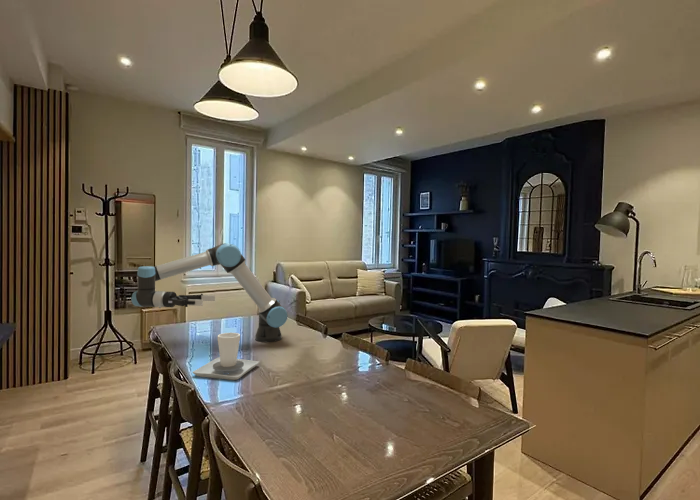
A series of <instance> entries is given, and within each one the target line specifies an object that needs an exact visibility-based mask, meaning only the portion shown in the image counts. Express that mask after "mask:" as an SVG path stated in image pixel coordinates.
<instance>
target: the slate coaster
mask: <svg viewBox="0 0 700 500" xmlns="http://www.w3.org/2000/svg"><path fill="white" fill-rule="evenodd" d="M243 366H244V363H243V362H242V361H238V360H237V361H236V365H234V366H230V367H224V366H221V362H217V363H215V364H213V369H214V370H218V371H232V370H237V369H240V368H242V367H243Z"/></svg>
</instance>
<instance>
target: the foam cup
mask: <svg viewBox="0 0 700 500" xmlns="http://www.w3.org/2000/svg"><path fill="white" fill-rule="evenodd" d="M240 341H241V334H240V333H239V332H222V333H219V334H218V335H217V343H218V352H219V357H220V362H221V366H224V367H230V366H234V365H236V361H237V359H238V356H239V355H238V353H239V349H240V348H239V347H240Z"/></svg>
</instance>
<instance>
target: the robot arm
mask: <svg viewBox="0 0 700 500" xmlns="http://www.w3.org/2000/svg"><path fill="white" fill-rule="evenodd" d="M218 265H220V266H221V267H222V268H223V269H224V271H225V273H227V274H231V275H232V276H233V277H234V279H235V280H236V281H237V282H238V284H239V285H240V286H241V287H242V289H243V290H244V291H245V292H246V293H247V295H248V296H249V297H250V299H251V300H252V301H253V302H254V304H255V305H256V306H257V308H258V311H257V312H258V328H257V330H256V332H255V337H254V339H255V341H256V342H262V343H272V342H278V341H281V340H282V332H281V329H280V327H283V326H284V325H285V324H286V322H287V320H288V312H287V309H286V308H285V307H283V306H282V305H281V304H280V300H279V299H276V298H275V297H271V295H270V294H269V292H267V290H266V289H265V288H264V286H263V285H262V283H261V282H260V281H259V280H258V279H257V277H256V276H255V275H254V273H253V272H252V271H251V269H250V268H249V267H248V266H247V265H246V258H245V257H244V256H243V254H242V252H241V250H240V248H239V247H238V246H236V245H235V244H234V243H229V242H227V243H220V244H218V245H217V246H214V247H211V248H207V249H206V250H205V251H203V252H201V253H196V254H192V255H190V256H186V257H182V258H178V259H175V260H172V261H169V262H168V261H167V262H166V263H161V264H158V265H155V266H150V265H149V266H147V265H145V266H139V267H137V290H136V291H134V292H133V293H132V295H131V298H130V299H131V304H132V305H133V306H135V307H141V308H159V309H161V308H174V307H175V306H179V307H184V308H188V307H189V306H190V307H191V306H194V307H196V306H197V307H203V305H204V303H203V302H216V295H215V294H214V295H213V294H212V295H209V294H205V295H204V294H203V293H200V294H190V295H189V294H178V295H177V294H176V292H175V291H165V290H164V291H163V290H162V291H161V290H160V291H159V290H156V282H157V281H158V282H159V281H160V280H161V281H162V280H163V279H167V278H170V277H174V276H177V275H181V274H184V273H188V272H191V271H194V270H199V269H201V268H204V267H208V266H211V267H214V266H218Z"/></svg>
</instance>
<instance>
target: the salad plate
mask: <svg viewBox="0 0 700 500" xmlns="http://www.w3.org/2000/svg"><path fill="white" fill-rule="evenodd" d="M237 360H238V361H242V362H243V363H244V366H243V367H242V368H240V369H237V370H232V371H218V370H214V369H213V364H215V363H217V362H220V356H218V357H216V358H215V359H212V360H211V361H210V362H207V363H205V364H204V365H202V366H200V367H199V368H197V369H195V370H193V371H192V374H193V375H195V376H197V377H200V378H209V379H220V380H229V381H238V380H239V379H241V377H243V376H245V374H247V373H248V372H250V371H251V370H253V369H254V368H256V367H257V366H258V365H259V364H260V361H259V360H258V361H257V360H250V359H249V360H248V359H243V358H242V359H241V358H237Z"/></svg>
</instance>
